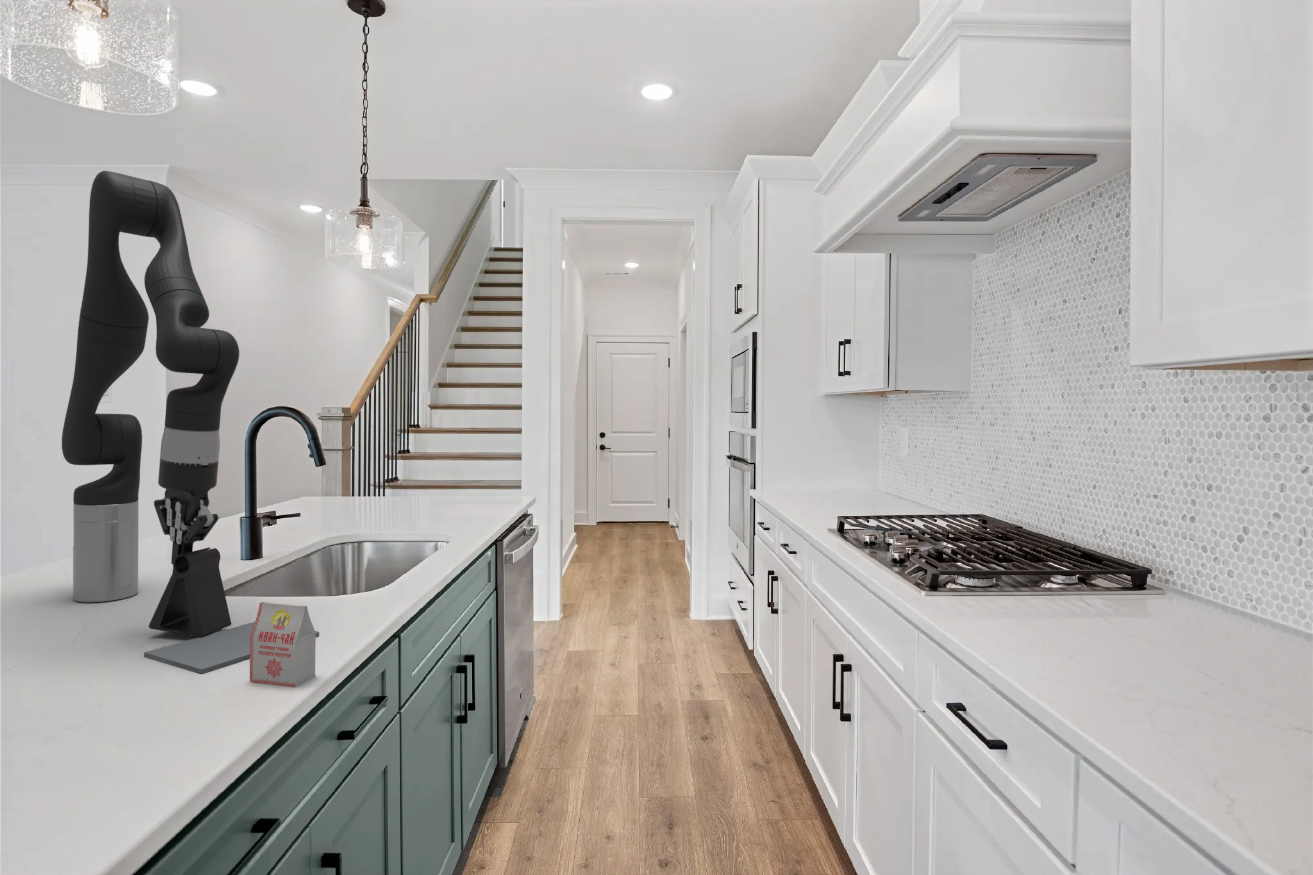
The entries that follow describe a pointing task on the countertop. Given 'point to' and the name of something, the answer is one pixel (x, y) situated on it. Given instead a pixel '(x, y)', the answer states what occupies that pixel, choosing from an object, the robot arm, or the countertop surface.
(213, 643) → the mat
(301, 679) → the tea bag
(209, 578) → the phone stand
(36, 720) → the countertop surface
